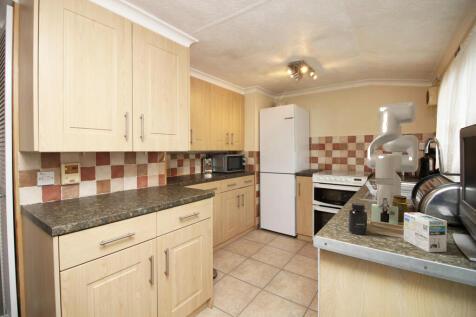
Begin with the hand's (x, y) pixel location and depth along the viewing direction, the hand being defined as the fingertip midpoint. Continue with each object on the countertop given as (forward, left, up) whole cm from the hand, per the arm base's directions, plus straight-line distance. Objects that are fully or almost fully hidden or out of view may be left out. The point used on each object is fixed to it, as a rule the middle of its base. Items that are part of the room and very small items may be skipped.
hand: (384, 219), depth 101 cm
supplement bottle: (+16, -10, -3) cm, 19 cm away
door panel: (0, 0, -3) cm, 3 cm away
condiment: (-11, +6, -3) cm, 13 cm away
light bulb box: (+18, +11, -3) cm, 22 cm away
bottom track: (+10, +1, -3) cm, 10 cm away
